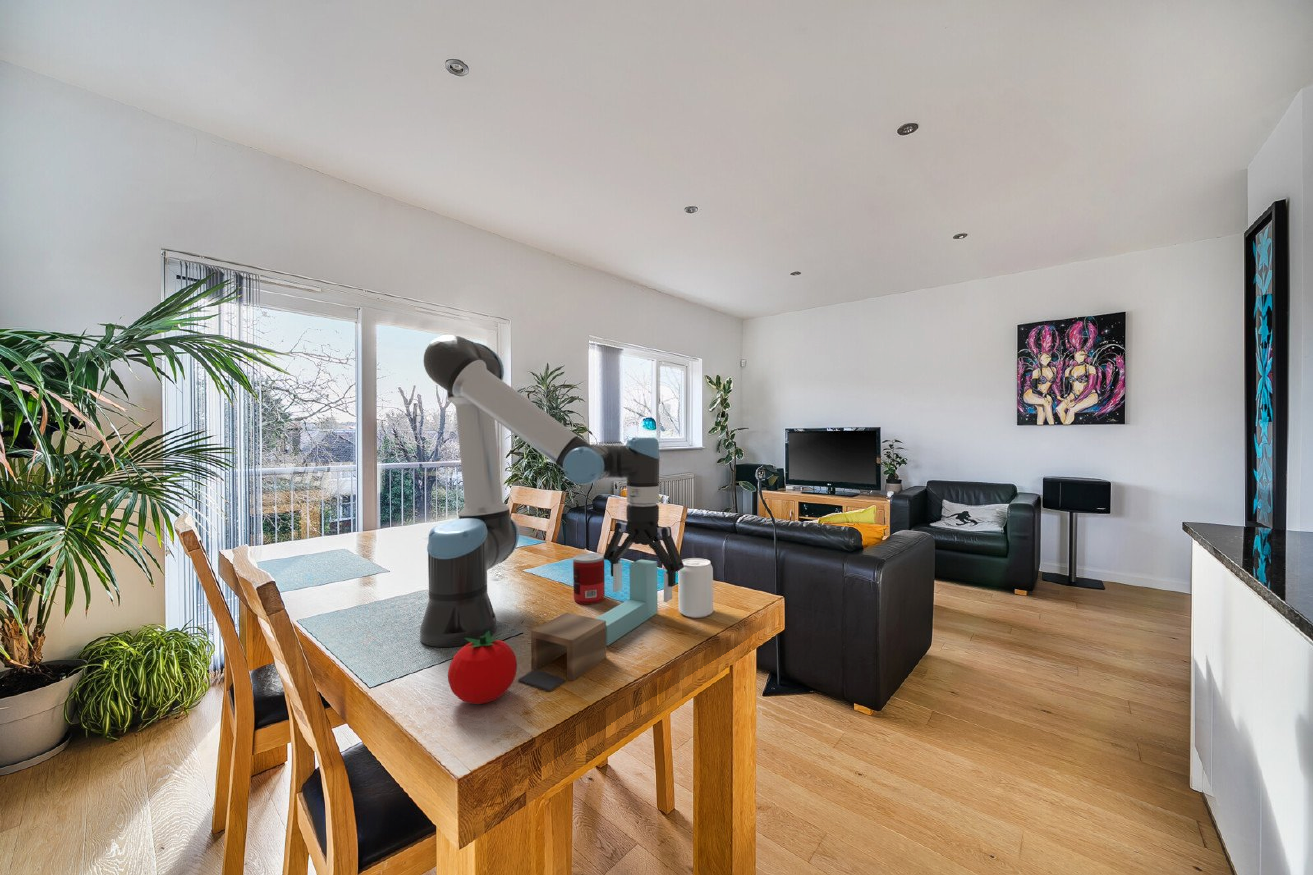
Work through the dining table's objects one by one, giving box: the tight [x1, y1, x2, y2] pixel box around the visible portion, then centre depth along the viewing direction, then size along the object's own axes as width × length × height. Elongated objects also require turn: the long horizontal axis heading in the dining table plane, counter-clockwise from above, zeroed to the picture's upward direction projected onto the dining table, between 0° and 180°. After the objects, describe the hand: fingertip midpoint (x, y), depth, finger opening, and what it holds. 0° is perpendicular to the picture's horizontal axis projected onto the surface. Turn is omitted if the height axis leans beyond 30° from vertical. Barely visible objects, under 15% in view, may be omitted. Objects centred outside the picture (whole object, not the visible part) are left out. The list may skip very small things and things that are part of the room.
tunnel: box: [530, 612, 607, 682], centre depth 91 cm, size 9×10×7 cm
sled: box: [595, 559, 659, 647], centre depth 108 cm, size 4×20×12 cm, turn 151°
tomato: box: [447, 631, 518, 705], centre depth 79 cm, size 10×10×10 cm
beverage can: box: [677, 557, 714, 619], centre depth 116 cm, size 8×8×12 cm
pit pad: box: [517, 669, 566, 693], centre depth 84 cm, size 7×4×1 cm, turn 61°
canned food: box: [572, 552, 606, 605], centre depth 126 cm, size 8×8×11 cm
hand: (642, 595), depth 115 cm, fingers open, 13 cm apart
